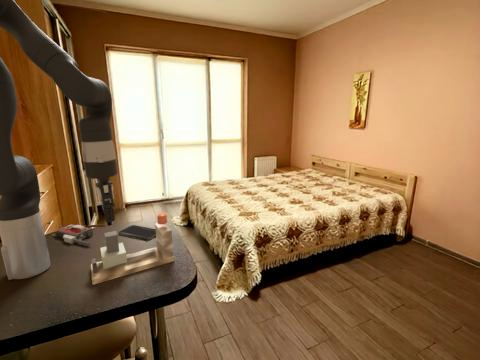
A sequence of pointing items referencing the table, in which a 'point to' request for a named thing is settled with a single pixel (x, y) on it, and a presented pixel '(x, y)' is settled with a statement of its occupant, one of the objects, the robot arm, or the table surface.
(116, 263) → the block
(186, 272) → the table surface
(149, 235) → the phone
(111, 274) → the rail base
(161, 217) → the button
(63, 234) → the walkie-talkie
